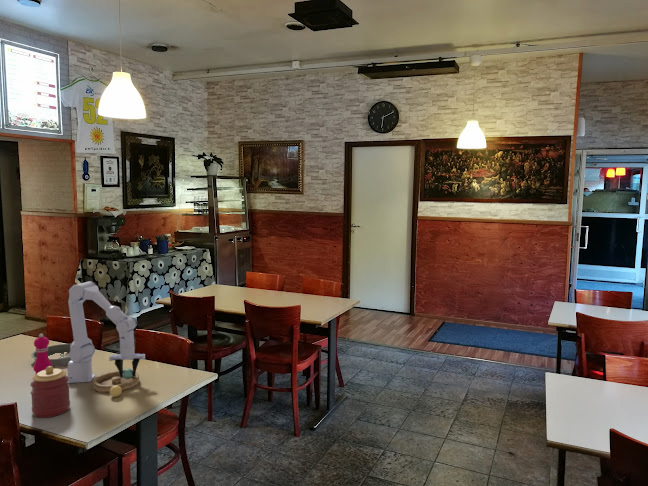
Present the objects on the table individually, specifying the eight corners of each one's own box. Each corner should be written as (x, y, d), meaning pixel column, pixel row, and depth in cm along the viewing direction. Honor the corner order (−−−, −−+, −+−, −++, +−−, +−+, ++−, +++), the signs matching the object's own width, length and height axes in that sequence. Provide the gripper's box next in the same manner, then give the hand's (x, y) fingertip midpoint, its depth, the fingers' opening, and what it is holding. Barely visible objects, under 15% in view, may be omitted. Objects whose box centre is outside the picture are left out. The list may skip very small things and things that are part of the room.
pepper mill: (55, 374, 227) (53, 331, 225) (45, 379, 220) (43, 336, 218) (41, 373, 228) (39, 331, 226) (30, 379, 221) (28, 335, 219)
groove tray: (87, 393, 206) (87, 387, 205) (100, 377, 224) (100, 371, 223) (133, 391, 208) (133, 385, 208) (142, 375, 227) (142, 369, 226)
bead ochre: (108, 399, 201) (108, 388, 200) (111, 394, 205) (111, 383, 205) (120, 398, 201) (120, 387, 201) (123, 393, 206) (122, 383, 205)
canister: (61, 400, 199) (59, 358, 197) (76, 409, 190) (74, 365, 189) (26, 411, 189) (23, 366, 187) (40, 421, 180) (37, 375, 179)
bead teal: (121, 381, 214) (120, 370, 213) (124, 377, 218) (123, 367, 218) (132, 380, 214) (131, 370, 214) (134, 376, 219) (134, 366, 219)
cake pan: (20, 362, 242) (20, 353, 242) (67, 349, 264) (66, 340, 264) (52, 371, 231) (51, 362, 231) (97, 356, 253) (97, 348, 252)
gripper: (107, 349, 210) (108, 379, 211) (142, 347, 212) (143, 378, 214) (111, 344, 217) (112, 373, 218) (145, 342, 219) (146, 372, 221)
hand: (128, 375), depth 216 cm, fingers closed on bead teal, 5 cm apart
